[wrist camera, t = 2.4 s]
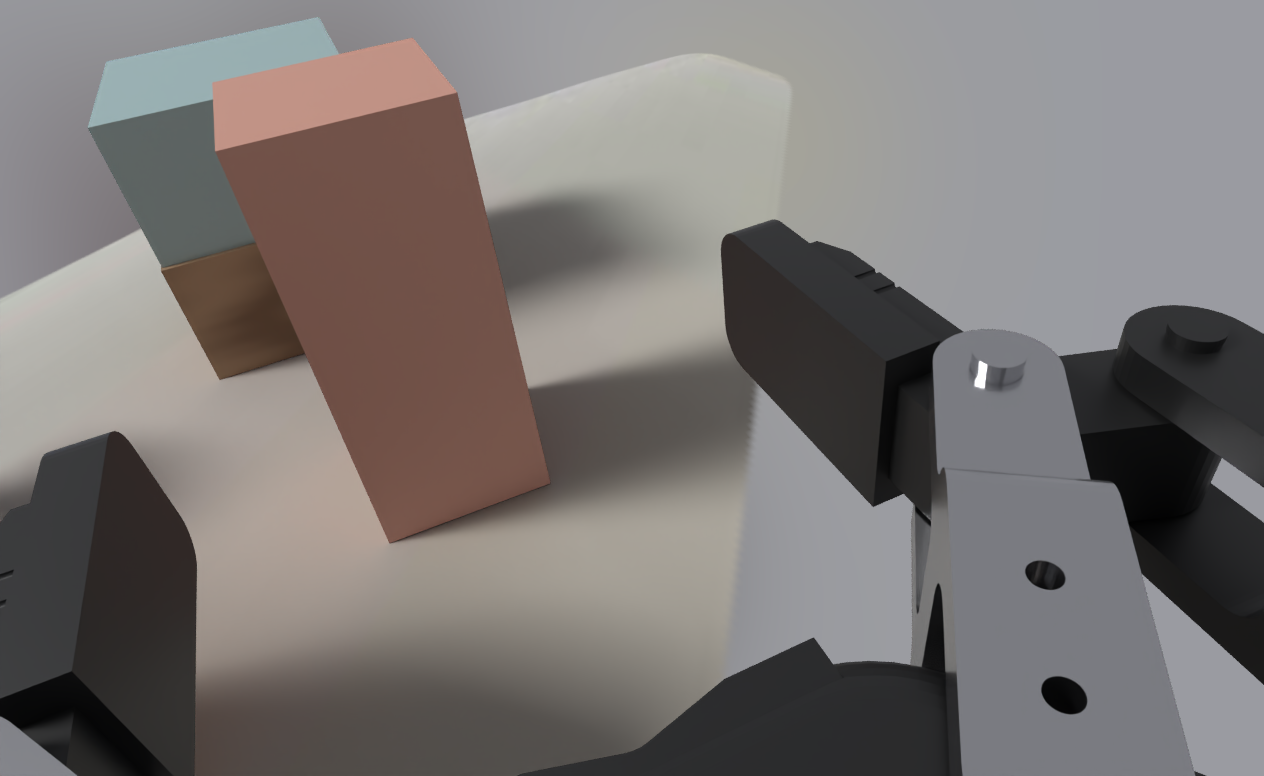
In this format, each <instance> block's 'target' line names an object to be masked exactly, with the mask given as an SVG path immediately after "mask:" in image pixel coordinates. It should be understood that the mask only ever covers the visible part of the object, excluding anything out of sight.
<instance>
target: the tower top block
mask: <svg viewBox="0 0 1264 776" xmlns="http://www.w3.org/2000/svg"><path fill="white" fill-rule="evenodd" d="M338 54H339V53H338V52H337V50H336V48H335V46H334V44H333V42H332V40H331V39H330V37H329V35H328V33H327V31H326V29H325V28H324V26H323V24H322V22H321V20H320V18H319V17H317V18H313V19H307V20H303V21H298V22H294V23H288V24H284V25H279V26H275V27H269V28H265V29H260V30H255V31H250V32H245V33H241V34H236V35H231V36H226V37H222V38H217V39H213V40H208V41H203V42H198V43H193V44H188V45H184V46H179V47H174V48H170V49H164V50H160V51H156V52H151V53H145V54H141V55H136V56H131V57H126V58H122V59H117V60H112V61H108V62H106V65H105V69H104V72H103V76H102V79H101V83H100V86H99V90H98V93H97V97H96V100H95V104H94V108H93V111H92V114H91V118H90V121H89V125H88V129H89V131H90V133H91V135H92V137H93V139H94V141H95V142H96V144H97V146H98V148H99V150H100V152H101V154H102V156H103V157H104V159H105V161H106V163H107V165H108V167H109V169H110V171H111V172H112V174H113V176H114V178H115V180H116V182H117V184H118V185H119V187H120V189H121V191H122V193H123V195H124V197H125V199H126V201H127V202H128V204H129V206H130V208H131V210H132V212H133V213H134V216H135V217H136V219H137V221H138V223H139V225H140V227H141V229H142V231H143V232H144V234H145V236H146V238H147V240H148V242H149V244H150V246H151V247H152V249H153V251H154V253H155V255H156V257H157V259H158V261H159V262H160V264H161V266H162V268H164V267H168V266H171V265H175V264H179V263H182V262H186V261H190V260H193V259H197V258H201V257H204V256H208V255H211V254H215V253H219V252H222V251H226V250H230V249H233V248H237V247H241V246H244V245H248V244H252V243H255V240H254V238H253V235H252V233H251V231H250V229H249V226H248V224H247V222H246V220H245V217H244V215H243V213H242V211H241V208H240V206H239V204H238V202H237V199H236V197H235V195H234V193H233V190H232V188H231V186H230V184H229V181H228V179H227V177H226V175H225V172H224V170H223V168H222V166H221V163H220V161H219V159H218V157H217V154H216V152H215V136H214V112H213V88H212V82H217V81H221V80H226V79H230V78H235V77H239V76H244V75H248V74H253V73H257V72H261V71H266V70H270V69H275V68H279V67H284V66H288V65H293V64H297V63H302V62H306V61H311V60H315V59H320V58H324V57H329V56H333V55H338Z"/></svg>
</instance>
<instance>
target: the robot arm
mask: <svg viewBox="0 0 1264 776" xmlns="http://www.w3.org/2000/svg"><path fill="white" fill-rule="evenodd" d="M721 260H722V276H723V293H724V309H725V325H726V332H727V337H728V340H729V344H730V346H731V349H732V351H733V353H734V355H735V357H736V359H737V361H738V362H739V364H740V365H741V366H742V367H743V369H744V370H745V371H746V372H747V373H748V374H749V375H750V376H751V377H752V378H753V379H754V380H755V381H756V382H757V384H758V385H759V386H760V387H761V388H762V389H763V390H764V391H765V392H766V393H767V394H768V395H769V396H770V397H771V399H773V401H774V402H775V403H776V404H777V405H778V406H779V407H780V408H781V409H782V410H783V411H784V412H785V413H786V415H787V416H788V417H789V418H790V419H791V420H792V421H793V422H794V423H795V424H796V425H797V426H798V427H799V428H800V429H801V431H803V433H804V434H805V435H806V436H807V437H808V438H809V439H810V440H811V441H812V442H813V443H814V444H815V445H816V446H817V448H818V449H819V450H820V451H821V452H822V453H823V454H824V455H825V456H826V457H827V458H828V459H829V460H830V461H831V462H832V464H833V465H834V466H835V467H836V468H837V469H838V470H839V471H840V472H841V473H842V474H843V475H844V476H845V478H846V479H847V480H848V481H849V482H850V483H851V484H852V485H853V486H854V487H855V488H856V489H857V490H858V491H859V492H860V494H861V495H863V497H864V498H865V499H866V500H867V501H868V502H869V503H870V504H871V505H872V506H873V507H874V506H876V505H879V504H881V503H883V502H885V501H888V500H890V499H893V498H895V497H897V496H899V495H902V494H905V496H906V497H907V498H909V500H910V501H911V502H913V512H912V520H911V545H912V546H911V547H912V549H911V550H912V551H911V553H912V649H911V650H912V651H911V662H910V663H911V664H910V665H907V664H900V663H895V662H878V661H862V662H846V663H840V664H832V662H831V661H830V659H829V658H828V657H827V655H826V654H825V652H824V651H823V650H822V648H821V647H820V645H819V644H818V643H817V641H816V640H815V639H814V638H812V639H809V640H807V641H805V642H803V643H801V644H799V645H797V646H794V647H792V648H790V649H788V650H786V651H784V652H781V653H779V654H777V655H775V656H773V657H771V658H769V659H767V660H764V661H762V662H760V663H758V664H756V665H754V666H751V667H749V668H747V669H745V670H743V671H741V672H739V673H737V674H734V675H732V676H730V677H728V678H726V679H724V680H723V681H722V682H720V683H719V684H718V685H717V686H715V687H714V688H713V689H712V690H711V691H709V692H708V693H707V694H706V695H705V696H703V697H702V698H701V699H700V700H699V701H697V702H696V703H695V704H694V705H692V706H691V707H690V708H689V709H688V710H686V711H685V712H684V713H683V714H682V715H680V716H679V717H678V718H677V719H676V720H674V721H673V722H672V723H671V724H670V725H668V726H667V727H666V728H665V729H663V730H662V731H661V732H660V733H659V734H657V735H656V736H655V737H654V738H653V739H651V740H650V741H649V742H648V743H646V744H645V745H644V746H642V747H641V748H639V749H636V750H634V751H632V752H628V753H624V754H619V755H614V756H609V757H604V758H599V759H594V760H589V761H584V762H579V763H574V764H569V765H564V766H558V767H553V768H548V769H543V770H538V771H533V772H528V773H523V774H520V775H518V776H1205V775H1203V774H1200V773H1198V772H1195V771H1194V770H1193V765H1192V761H1191V758H1190V754H1189V750H1188V747H1187V743H1186V739H1185V735H1184V731H1183V728H1182V724H1181V720H1180V717H1179V713H1178V709H1177V705H1176V702H1175V698H1174V694H1173V690H1172V686H1171V683H1170V679H1169V675H1168V671H1167V668H1166V664H1165V660H1164V657H1163V653H1162V649H1161V645H1160V641H1159V638H1158V634H1157V630H1156V626H1155V623H1154V619H1153V615H1152V611H1151V608H1150V604H1149V600H1148V596H1147V592H1146V589H1145V585H1144V581H1143V577H1142V574H1143V575H1144V576H1145V577H1146V578H1147V579H1148V580H1149V581H1150V582H1152V583H1153V584H1154V585H1155V586H1156V587H1157V588H1158V589H1160V591H1161V592H1162V593H1164V594H1165V595H1166V596H1167V597H1168V598H1169V599H1170V600H1171V601H1172V602H1173V603H1174V604H1176V605H1177V606H1178V607H1179V608H1180V609H1181V610H1182V611H1183V612H1184V613H1186V614H1187V615H1188V616H1189V617H1190V618H1191V619H1192V620H1193V621H1194V622H1195V623H1196V624H1198V625H1199V626H1200V627H1201V628H1202V629H1203V630H1204V631H1205V632H1206V633H1207V634H1209V635H1210V636H1211V637H1212V638H1213V639H1214V640H1215V641H1216V642H1217V643H1218V644H1220V645H1221V646H1222V647H1223V648H1224V649H1225V650H1226V651H1227V652H1228V653H1230V655H1232V656H1233V657H1234V658H1235V659H1236V660H1237V661H1238V662H1239V663H1240V664H1241V665H1243V666H1244V667H1245V668H1246V669H1247V670H1248V671H1249V672H1250V673H1251V674H1253V675H1254V676H1255V677H1256V678H1257V679H1258V680H1259V681H1260V682H1261V683H1262V684H1263V685H1264V523H1263V522H1262V521H1261V520H1259V519H1258V518H1257V517H1255V516H1254V515H1253V514H1251V513H1250V512H1249V511H1247V510H1246V509H1245V508H1243V507H1242V506H1241V505H1239V504H1238V503H1237V502H1235V501H1234V500H1233V499H1231V498H1230V497H1229V496H1227V495H1226V494H1225V493H1223V492H1222V491H1221V490H1219V489H1218V488H1217V487H1215V486H1213V485H1212V484H1211V481H1212V478H1213V476H1214V474H1215V472H1216V470H1217V467H1218V465H1219V463H1220V461H1221V458H1223V459H1224V460H1226V461H1227V462H1229V463H1230V464H1232V465H1233V466H1234V467H1236V468H1237V469H1238V470H1240V471H1241V472H1243V473H1244V474H1246V475H1247V476H1248V477H1250V478H1251V479H1253V480H1254V481H1255V482H1257V483H1258V484H1260V485H1261V486H1262V487H1264V334H1262V333H1261V332H1259V331H1257V330H1255V329H1254V328H1252V327H1250V326H1248V325H1246V324H1245V323H1243V322H1241V321H1239V320H1237V319H1235V318H1233V317H1230V316H1228V315H1225V314H1222V313H1219V312H1216V311H1212V310H1209V309H1204V308H1199V307H1191V306H1178V305H1172V306H1171V305H1170V306H1158V307H1152V308H1148V309H1145V310H1142V311H1140V312H1138V313H1136V314H1134V315H1133V316H1131V317H1130V318H1129V319H1128V320H1127V322H1126V324H1125V326H1124V329H1123V332H1122V336H1121V339H1120V342H1119V345H1118V349H1113V350H1105V351H1097V352H1089V353H1082V354H1073V355H1066V356H1058V355H1057V354H1056V353H1055V352H1054V351H1052V349H1051V348H1049V347H1048V346H1046V345H1045V344H1043V343H1041V342H1040V341H1037V340H1036V339H1033V338H1031V337H1028V336H1025V335H1022V334H1019V333H1015V332H1010V331H1005V330H996V329H980V330H971V331H967V332H963V331H961V330H960V329H958V328H957V327H956V326H954V325H953V324H952V323H950V322H949V321H947V320H946V319H944V318H943V317H942V316H940V315H939V314H937V313H936V312H935V311H933V310H932V309H930V308H929V307H928V306H926V305H925V304H923V303H922V302H921V301H919V300H918V299H916V298H915V297H914V296H912V295H911V294H909V293H908V292H906V291H905V290H904V289H902V288H901V287H897V288H896V287H895V284H894V282H892V281H891V280H890V279H888V278H887V277H885V276H884V275H882V274H881V273H876V272H875V269H874V268H873V267H871V266H870V265H868V264H867V263H866V262H864V261H863V260H861V259H860V258H859V257H857V256H856V255H854V254H853V253H851V252H849V251H846V250H843V249H840V248H837V247H834V246H831V245H828V244H825V243H822V242H818V241H816V242H813V243H808V242H807V241H806V240H804V239H803V238H801V237H800V236H799V235H798V234H796V233H795V232H794V231H792V230H791V229H790V228H788V227H787V226H785V225H784V224H783V223H782V222H780V221H778V220H770V221H767V222H764V223H760V224H757V225H754V226H751V227H748V228H745V229H742V230H739V231H736V232H733V233H730V234H727V235H725V237H724V238H723V240H722V244H721ZM1141 573H1142V574H1141ZM196 592H197V562H196V555H195V550H194V546H193V543H192V540H191V537H190V534H189V532H188V530H187V527H186V525H185V523H184V521H183V520H182V518H181V516H180V515H179V513H178V512H177V510H176V509H175V508H174V506H173V505H172V503H171V502H170V500H169V499H168V497H167V496H166V494H165V493H164V491H163V490H162V489H161V487H160V486H159V484H158V483H157V481H156V480H155V478H154V477H153V475H152V474H151V472H150V471H149V469H148V468H147V467H146V465H145V464H144V462H143V461H142V459H141V458H140V456H139V455H138V453H137V452H136V450H135V449H134V447H133V446H132V445H131V443H130V442H129V441H128V440H127V439H126V437H124V436H123V435H122V434H121V433H119V432H116V431H113V432H110V433H107V434H103V435H100V436H97V437H94V438H91V439H88V440H85V441H82V442H79V443H76V444H73V445H69V446H66V447H63V448H60V449H57V450H54V451H51V452H48V453H46V454H44V456H43V457H42V460H41V462H40V466H39V470H38V474H37V478H36V483H35V487H34V491H33V495H32V499H31V503H30V504H27V505H24V506H21V507H18V508H15V509H12V510H10V511H9V512H8V514H7V515H6V516H5V518H4V519H3V520H2V522H1V523H0V776H194V756H195V674H196Z"/></svg>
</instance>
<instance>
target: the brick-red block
mask: <svg viewBox="0 0 1264 776" xmlns="http://www.w3.org/2000/svg"><path fill="white" fill-rule="evenodd" d="M212 88H213V112H214V136H215V152H216V154H217V157H218V159H219V161H220V163H221V166H222V168H223V170H224V172H225V175H226V177H227V179H228V181H229V184H230V186H231V188H232V190H233V193H234V195H235V197H236V199H237V202H238V204H239V206H240V208H241V211H242V213H243V215H244V217H245V220H246V222H247V224H248V226H249V229H250V231H251V233H252V235H253V238H254V240H255V242H256V244H257V247H258V249H259V251H260V253H261V256H262V258H263V260H264V262H265V265H266V267H267V269H268V271H269V274H270V276H271V278H272V280H273V283H274V285H275V287H276V289H277V292H278V294H279V296H280V298H281V301H282V303H283V305H284V307H285V310H286V312H287V314H288V316H289V319H290V321H291V323H292V325H293V328H294V330H295V332H296V334H297V337H298V339H299V341H300V343H301V346H302V348H303V350H304V352H305V354H306V357H307V359H308V361H309V363H310V366H311V368H312V370H313V372H314V375H315V377H316V379H317V381H318V384H319V386H320V388H321V390H322V393H323V395H324V397H325V399H326V402H327V404H328V406H329V408H330V411H331V413H332V415H333V417H334V420H335V422H336V424H337V426H338V429H339V431H340V433H341V435H342V438H343V440H344V442H345V444H346V447H347V449H348V451H349V453H350V456H351V458H352V460H353V462H354V465H355V467H356V469H357V471H358V474H359V476H360V478H361V480H362V483H363V485H364V487H365V489H366V492H367V494H368V496H369V498H370V501H371V503H372V505H373V507H374V510H375V512H376V514H377V516H378V519H379V521H380V523H381V525H382V528H383V530H384V532H385V534H386V537H387V539H388V541H389V543H392V542H394V541H397V540H400V539H402V538H405V537H408V536H410V535H413V534H416V533H418V532H421V531H424V530H426V529H429V528H432V527H434V526H437V525H440V524H443V523H445V522H448V521H451V520H453V519H456V518H459V517H461V516H464V515H467V514H469V513H472V512H475V511H477V510H480V509H483V508H486V507H488V506H491V505H494V504H496V503H499V502H502V501H504V500H507V499H510V498H512V497H515V496H518V495H520V494H523V493H526V492H528V491H531V490H534V489H537V488H539V487H542V486H545V485H547V484H550V478H549V474H548V470H547V466H546V462H545V458H544V453H543V449H542V445H541V441H540V437H539V432H538V428H537V424H536V420H535V416H534V412H533V407H532V403H531V399H530V395H529V391H528V386H527V382H526V378H525V374H524V370H523V366H522V361H521V357H520V353H519V349H518V345H517V340H516V336H515V332H514V328H513V324H512V320H511V315H510V311H509V307H508V303H507V299H506V294H505V290H504V286H503V282H502V278H501V274H500V269H499V265H498V261H497V257H496V253H495V249H494V244H493V240H492V236H491V232H490V228H489V223H488V219H487V215H486V211H485V207H484V203H483V198H482V194H481V190H480V186H479V182H478V177H477V173H476V169H475V165H474V161H473V157H472V152H471V148H470V144H469V140H468V136H467V131H466V127H465V123H464V119H463V115H462V111H461V107H460V103H459V98H458V94H457V92H456V91H455V89H454V88H453V87H452V86H451V84H450V83H449V82H448V81H447V80H446V78H445V77H444V76H443V75H442V73H441V72H440V71H439V70H438V68H436V66H435V65H434V64H433V63H432V61H431V60H430V59H429V57H428V56H427V55H426V54H425V52H424V51H423V50H422V49H421V48H420V46H419V45H418V44H417V43H416V41H415V40H414V39H413V38H410V39H405V40H400V41H396V42H391V43H387V44H382V45H379V46H374V47H369V48H365V49H360V50H356V51H351V52H347V53H343V54H338V55H333V56H329V57H324V58H320V59H315V60H311V61H306V62H302V63H297V64H293V65H288V66H284V67H279V68H275V69H270V70H266V71H261V72H257V73H253V74H248V75H244V76H239V77H235V78H230V79H226V80H221V81H217V82H212Z"/></svg>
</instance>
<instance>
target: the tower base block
mask: <svg viewBox="0 0 1264 776" xmlns="http://www.w3.org/2000/svg"><path fill="white" fill-rule="evenodd" d="M161 272H162V274H163V275H164V277H165V279H166V281H167V283H168V285H169V287H170V288H171V290H172V292H173V294H174V296H175V298H176V300H177V301H178V303H179V305H180V307H181V309H182V311H183V313H184V314H185V316H186V318H187V320H188V322H189V324H190V326H191V327H192V329H193V331H194V333H195V335H196V337H197V339H198V340H199V342H200V344H201V346H202V348H203V350H204V352H205V353H206V355H207V357H208V359H209V361H210V363H211V365H212V366H213V368H214V370H215V372H216V374H217V376H218V378H219V379H220V380H221V379H224V378H227V377H230V376H233V375H237V374H240V373H243V372H246V371H249V370H253V369H256V368H259V367H262V366H266V365H269V364H272V363H275V362H278V361H282V360H285V359H288V358H291V357H294V356H298V355H301V354H304V353H305V352H304V350H303V348H302V346H301V343H300V341H299V339H298V337H297V334H296V332H295V330H294V328H293V325H292V323H291V321H290V319H289V316H288V314H287V312H286V310H285V307H284V305H283V303H282V301H281V298H280V296H279V294H278V292H277V289H276V287H275V285H274V283H273V280H272V278H271V276H270V274H269V271H268V269H267V267H266V265H265V262H264V260H263V258H262V256H261V253H260V251H259V249H258V247H257V244H256V242H255V243H252V244H248V245H244V246H241V247H237V248H233V249H230V250H226V251H222V252H219V253H215V254H211V255H208V256H204V257H201V258H197V259H193V260H190V261H186V262H182V263H179V264H175V265H171V266H168V267H164V268H162V266H161Z"/></svg>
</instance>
